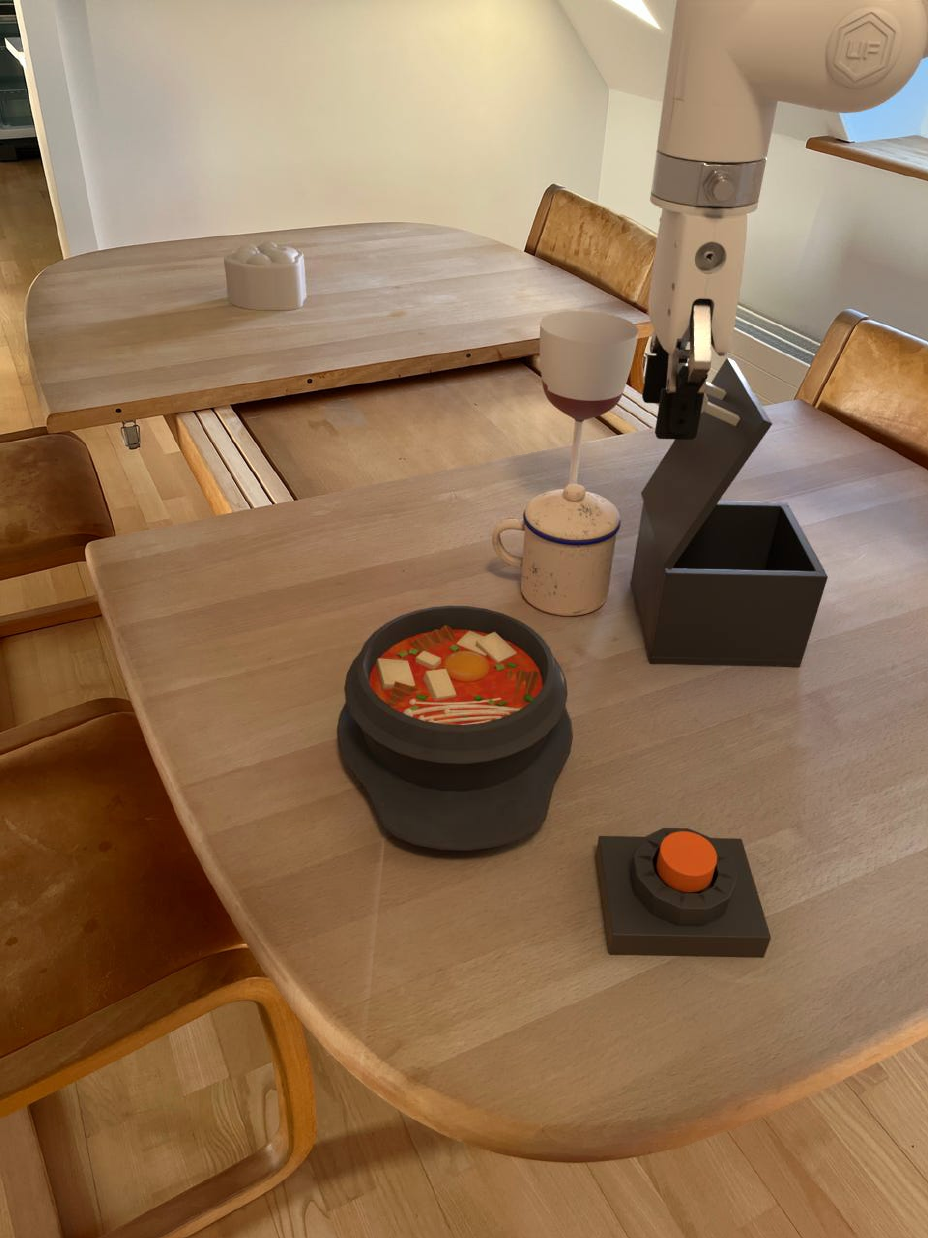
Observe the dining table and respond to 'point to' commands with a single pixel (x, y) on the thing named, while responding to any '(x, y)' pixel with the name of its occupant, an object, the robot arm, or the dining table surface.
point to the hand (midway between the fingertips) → (667, 417)
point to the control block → (678, 902)
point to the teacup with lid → (564, 550)
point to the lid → (704, 462)
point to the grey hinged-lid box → (730, 590)
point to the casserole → (456, 727)
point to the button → (686, 861)
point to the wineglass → (585, 366)
